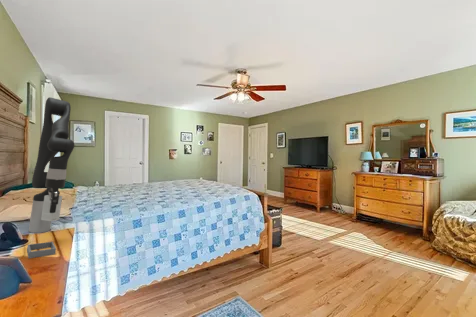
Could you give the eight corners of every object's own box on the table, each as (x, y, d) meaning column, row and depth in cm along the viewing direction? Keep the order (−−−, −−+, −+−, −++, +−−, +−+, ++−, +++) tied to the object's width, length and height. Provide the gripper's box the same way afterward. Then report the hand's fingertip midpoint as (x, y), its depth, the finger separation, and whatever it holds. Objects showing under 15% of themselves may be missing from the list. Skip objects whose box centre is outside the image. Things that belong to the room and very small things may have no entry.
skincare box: (59, 219, 113) (63, 196, 113) (51, 221, 109) (55, 197, 109) (48, 218, 114) (52, 194, 114) (40, 219, 109) (44, 195, 110)
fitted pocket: (26, 250, 101) (27, 244, 101) (52, 246, 107) (52, 241, 107) (28, 258, 94) (29, 252, 94) (55, 254, 100) (55, 248, 100)
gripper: (44, 175, 114) (40, 208, 114) (48, 179, 104) (42, 214, 103) (63, 176, 120) (58, 207, 119) (68, 180, 110) (63, 213, 109)
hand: (51, 210), depth 111 cm, fingers closed on skincare box, 7 cm apart
